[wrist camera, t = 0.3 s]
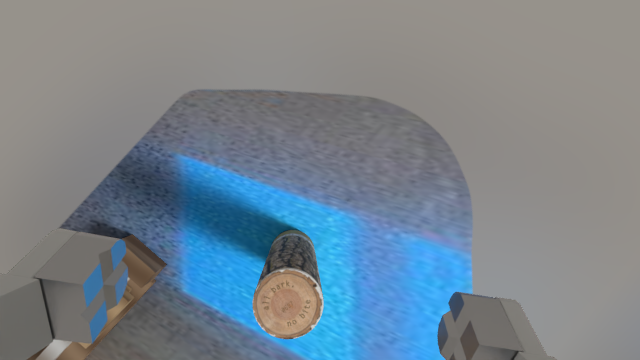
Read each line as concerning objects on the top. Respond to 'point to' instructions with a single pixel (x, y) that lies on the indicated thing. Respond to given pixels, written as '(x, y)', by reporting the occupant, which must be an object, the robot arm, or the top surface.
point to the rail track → (141, 272)
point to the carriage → (115, 311)
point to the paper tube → (289, 288)
